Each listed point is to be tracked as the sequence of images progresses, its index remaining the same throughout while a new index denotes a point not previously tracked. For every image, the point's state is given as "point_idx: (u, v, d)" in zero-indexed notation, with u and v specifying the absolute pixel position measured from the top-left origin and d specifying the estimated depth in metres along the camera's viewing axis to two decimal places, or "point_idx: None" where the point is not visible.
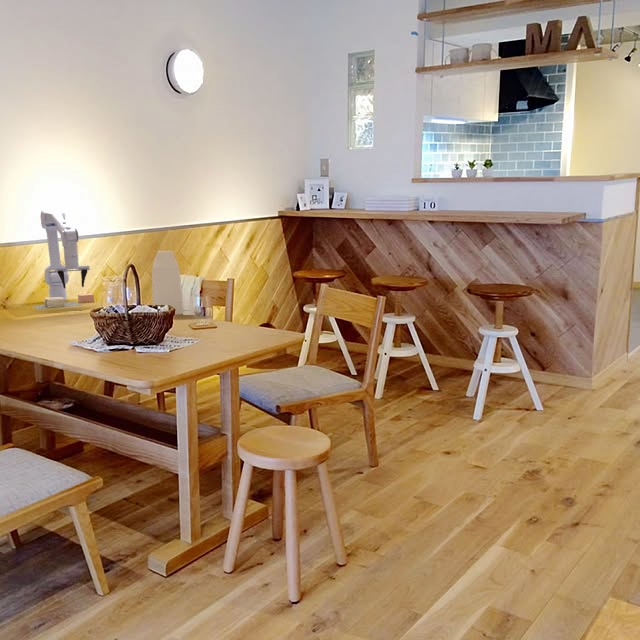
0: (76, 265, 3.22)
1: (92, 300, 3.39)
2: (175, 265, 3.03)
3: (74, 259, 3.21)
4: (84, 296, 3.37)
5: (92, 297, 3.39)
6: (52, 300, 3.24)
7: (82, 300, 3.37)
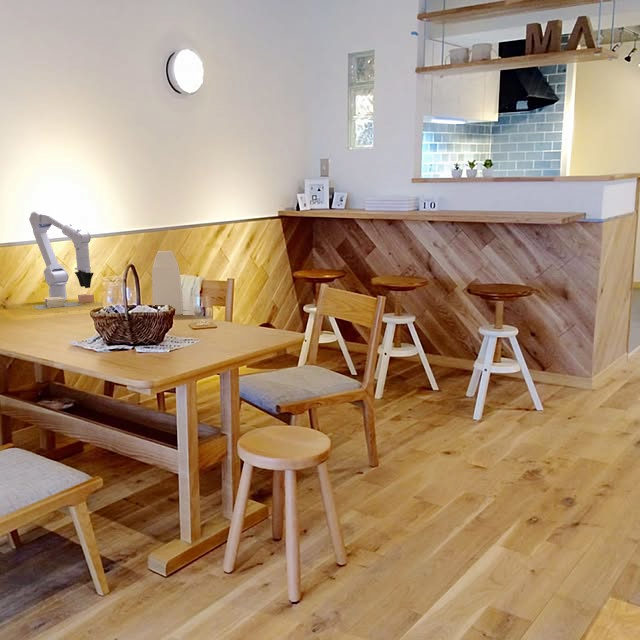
0: (79, 266, 3.34)
1: (92, 300, 3.39)
2: (175, 265, 3.03)
3: (77, 260, 3.34)
4: (84, 296, 3.37)
5: (92, 297, 3.39)
6: (52, 300, 3.24)
7: (82, 300, 3.37)
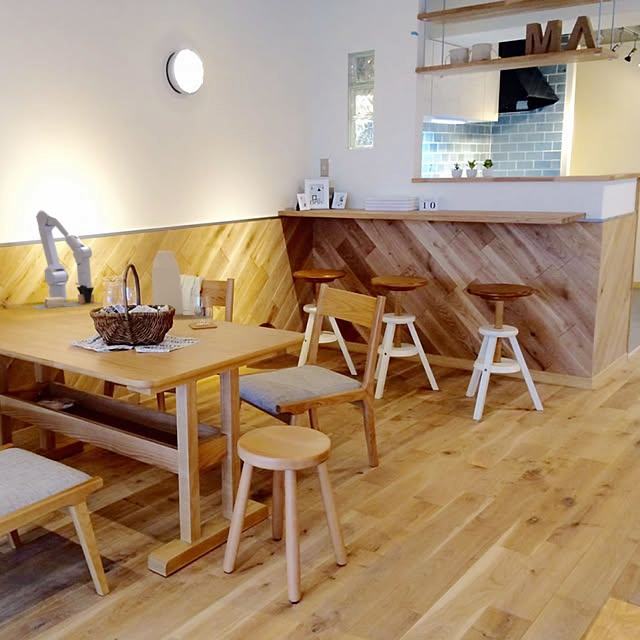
0: (80, 281, 3.36)
1: (92, 300, 3.39)
2: (175, 265, 3.03)
3: (79, 275, 3.35)
4: None
5: (92, 297, 3.39)
6: (52, 300, 3.24)
7: (82, 300, 3.37)
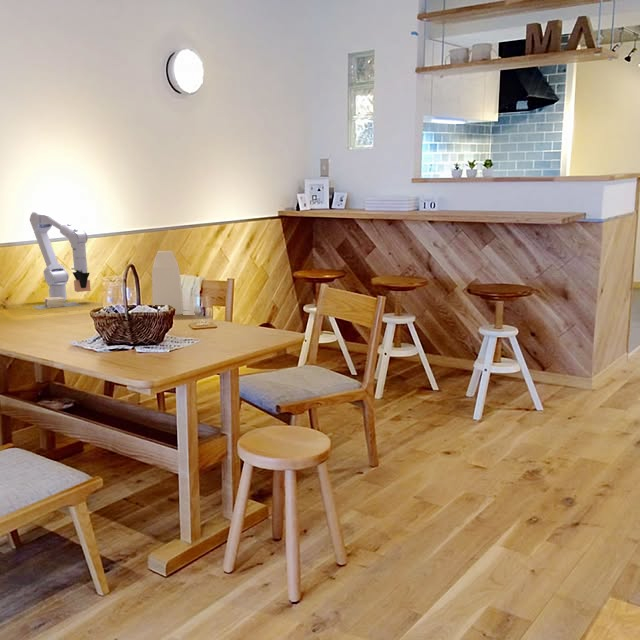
0: (76, 266, 3.33)
1: (88, 286, 3.37)
2: (175, 265, 3.03)
3: (74, 260, 3.33)
4: None
5: (88, 283, 3.37)
6: (52, 300, 3.24)
7: (78, 285, 3.34)
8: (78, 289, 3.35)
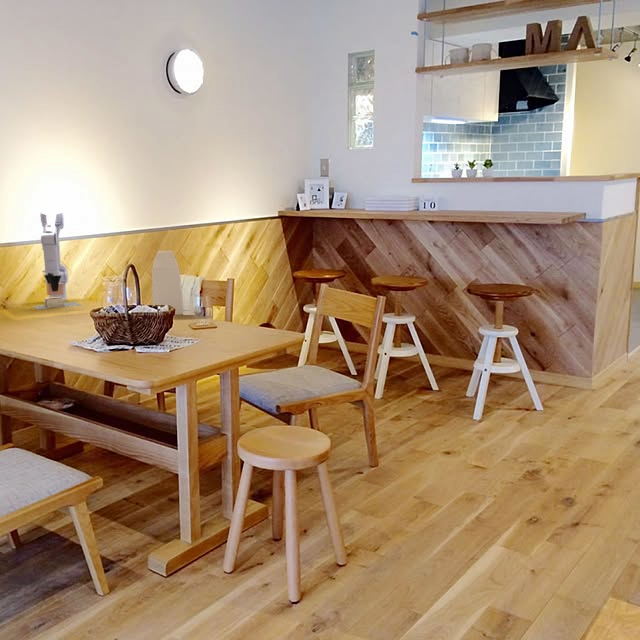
0: (47, 269, 3.23)
1: (61, 289, 3.27)
2: (175, 265, 3.03)
3: (45, 263, 3.23)
4: None
5: (60, 286, 3.27)
6: (52, 300, 3.24)
7: (50, 289, 3.25)
8: (50, 293, 3.25)
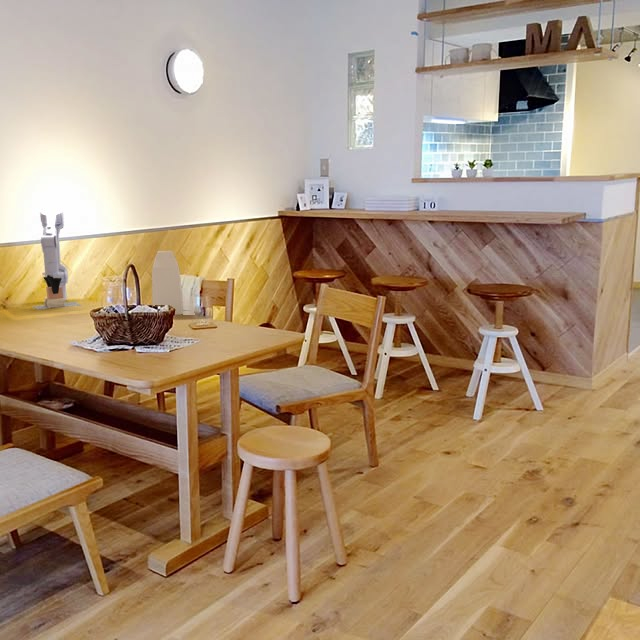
0: (47, 271, 3.23)
1: (61, 293, 3.27)
2: (175, 265, 3.03)
3: (45, 265, 3.23)
4: None
5: (60, 290, 3.27)
6: (52, 300, 3.24)
7: (50, 293, 3.25)
8: (50, 296, 3.25)
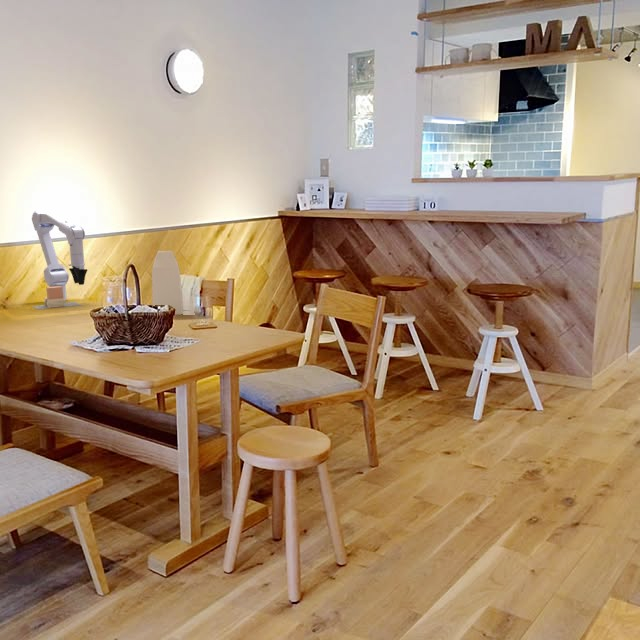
0: (73, 263, 3.31)
1: (61, 293, 3.27)
2: (175, 265, 3.03)
3: (71, 256, 3.31)
4: (52, 288, 3.25)
5: (60, 290, 3.27)
6: (52, 300, 3.24)
7: (50, 293, 3.25)
8: (50, 296, 3.25)
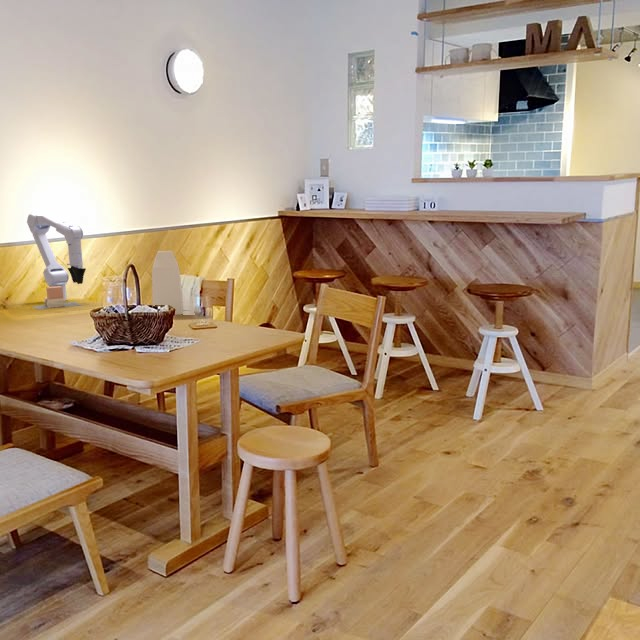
0: (72, 262, 3.33)
1: (61, 293, 3.27)
2: (175, 265, 3.03)
3: (70, 256, 3.33)
4: (52, 288, 3.25)
5: (60, 290, 3.27)
6: (52, 300, 3.24)
7: (50, 293, 3.25)
8: (50, 296, 3.25)
